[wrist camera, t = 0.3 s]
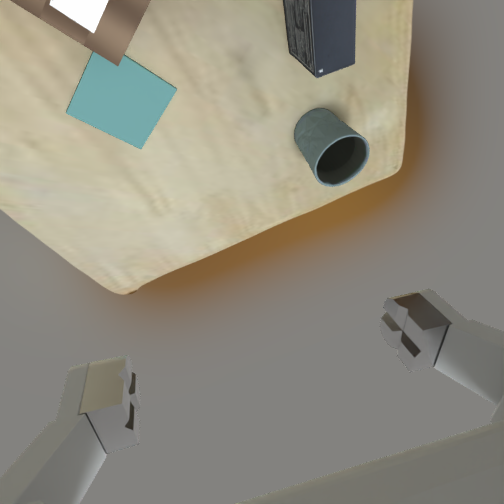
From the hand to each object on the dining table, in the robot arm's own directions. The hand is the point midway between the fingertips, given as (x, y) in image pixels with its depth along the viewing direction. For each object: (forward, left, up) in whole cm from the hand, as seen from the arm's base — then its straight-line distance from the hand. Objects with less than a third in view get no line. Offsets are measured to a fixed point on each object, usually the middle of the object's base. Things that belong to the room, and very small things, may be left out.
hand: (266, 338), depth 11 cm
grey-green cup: (+1, +36, -51) cm, 63 cm away
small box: (-11, +20, -51) cm, 56 cm away
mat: (+15, +4, -51) cm, 53 cm away
